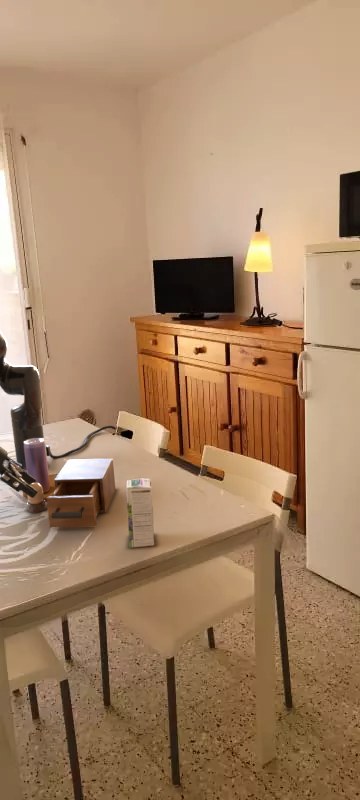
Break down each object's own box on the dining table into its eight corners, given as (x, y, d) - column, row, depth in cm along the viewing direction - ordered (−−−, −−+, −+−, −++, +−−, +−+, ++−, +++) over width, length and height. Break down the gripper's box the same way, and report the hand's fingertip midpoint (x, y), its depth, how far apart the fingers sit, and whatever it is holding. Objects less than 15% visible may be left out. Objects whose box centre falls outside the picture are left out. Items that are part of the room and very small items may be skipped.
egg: (30, 505, 167) (27, 479, 165) (48, 505, 167) (45, 479, 165) (25, 512, 162) (22, 486, 160) (43, 512, 162) (40, 486, 160)
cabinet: (105, 513, 159) (102, 478, 157) (57, 514, 160) (54, 479, 158) (115, 490, 174) (112, 458, 172) (71, 491, 175) (68, 459, 173)
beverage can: (45, 494, 174) (39, 444, 170) (25, 494, 175) (19, 444, 171) (53, 486, 179) (48, 437, 176) (34, 486, 181) (28, 437, 177)
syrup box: (129, 537, 145) (125, 479, 142) (154, 534, 146) (150, 477, 142) (129, 548, 140) (125, 488, 136) (155, 546, 140) (151, 486, 137)
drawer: (91, 535, 145) (88, 504, 143) (44, 536, 146) (40, 505, 144) (106, 502, 164) (103, 475, 162) (64, 503, 165) (61, 476, 163)
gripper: (-7, 450, 151) (45, 487, 156) (-6, 435, 164) (42, 469, 170) (-27, 474, 151) (26, 510, 156) (-24, 456, 164) (25, 490, 170)
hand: (34, 489), depth 163 cm, fingers open, 8 cm apart
